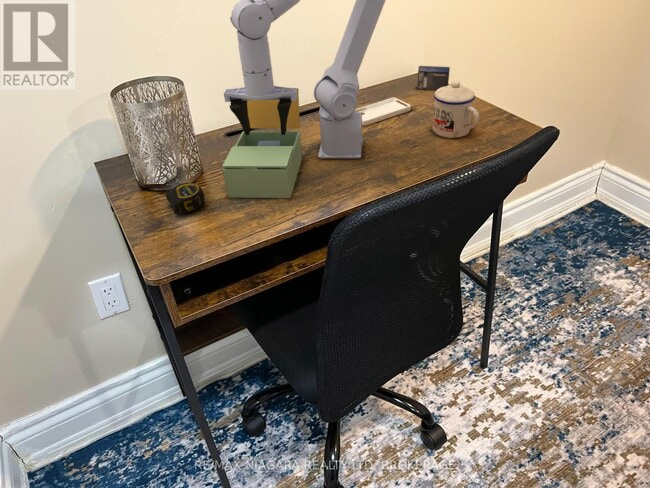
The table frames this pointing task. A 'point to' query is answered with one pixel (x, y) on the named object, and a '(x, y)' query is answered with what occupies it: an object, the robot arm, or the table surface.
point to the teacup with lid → (454, 111)
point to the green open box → (263, 165)
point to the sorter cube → (269, 143)
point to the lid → (271, 114)
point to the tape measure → (185, 197)
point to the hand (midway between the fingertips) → (266, 133)
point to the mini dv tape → (432, 77)
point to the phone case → (382, 110)
